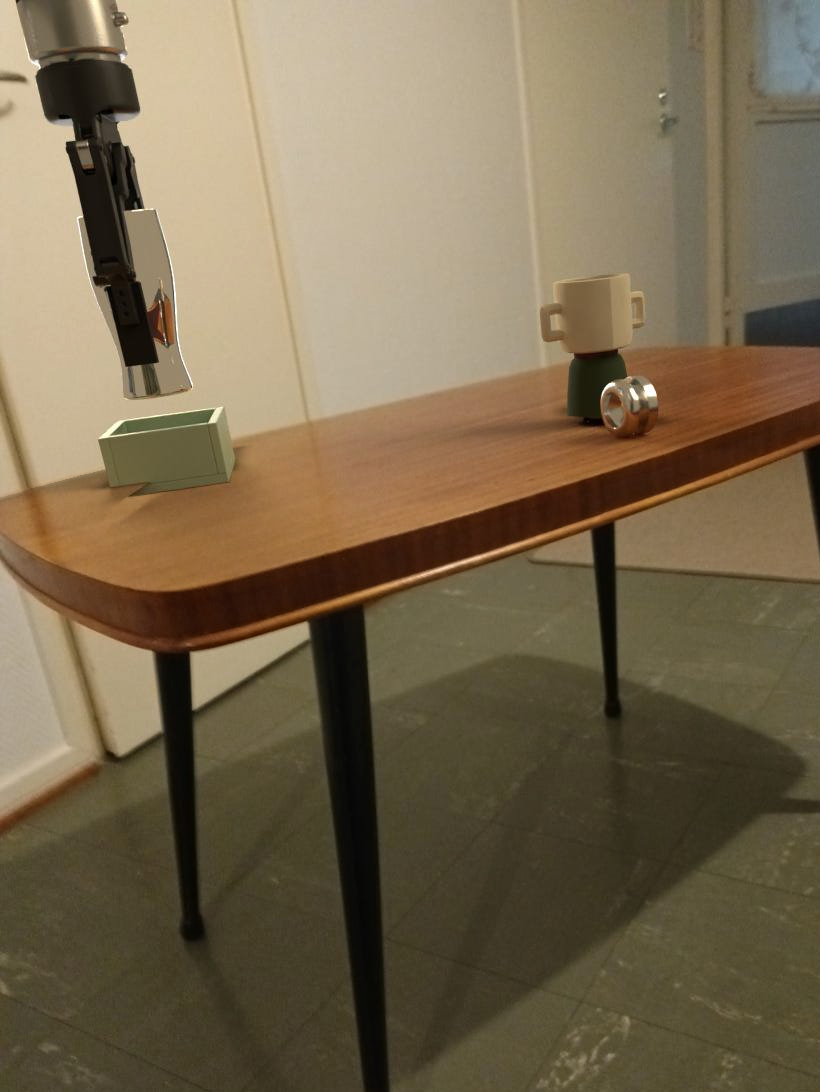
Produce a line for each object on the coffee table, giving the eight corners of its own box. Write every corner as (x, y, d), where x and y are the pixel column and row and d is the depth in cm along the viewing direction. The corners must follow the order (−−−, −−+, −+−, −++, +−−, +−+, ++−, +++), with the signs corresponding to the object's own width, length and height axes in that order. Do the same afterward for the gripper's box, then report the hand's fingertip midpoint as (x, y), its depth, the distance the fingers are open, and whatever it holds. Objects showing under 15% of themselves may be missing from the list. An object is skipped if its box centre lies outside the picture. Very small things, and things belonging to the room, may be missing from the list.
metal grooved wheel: (659, 436, 85) (657, 377, 83) (631, 442, 84) (627, 383, 82) (626, 429, 89) (623, 373, 87) (599, 435, 88) (595, 378, 86)
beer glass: (102, 402, 87) (55, 220, 82) (159, 387, 93) (119, 216, 87) (159, 400, 84) (114, 210, 78) (214, 385, 90) (176, 207, 84)
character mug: (631, 406, 100) (624, 270, 95) (668, 414, 94) (663, 270, 89) (533, 424, 97) (521, 285, 92) (566, 434, 90) (554, 285, 85)
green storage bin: (113, 499, 86) (97, 438, 84) (130, 475, 96) (117, 420, 94) (229, 482, 87) (216, 422, 85) (235, 460, 97) (224, 406, 95)
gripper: (99, 35, 70) (174, 366, 78) (152, 80, 88) (208, 344, 97) (-8, 47, 69) (79, 379, 78) (67, 89, 88) (131, 354, 96)
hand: (150, 359), depth 87 cm, fingers closed on beer glass, 7 cm apart
